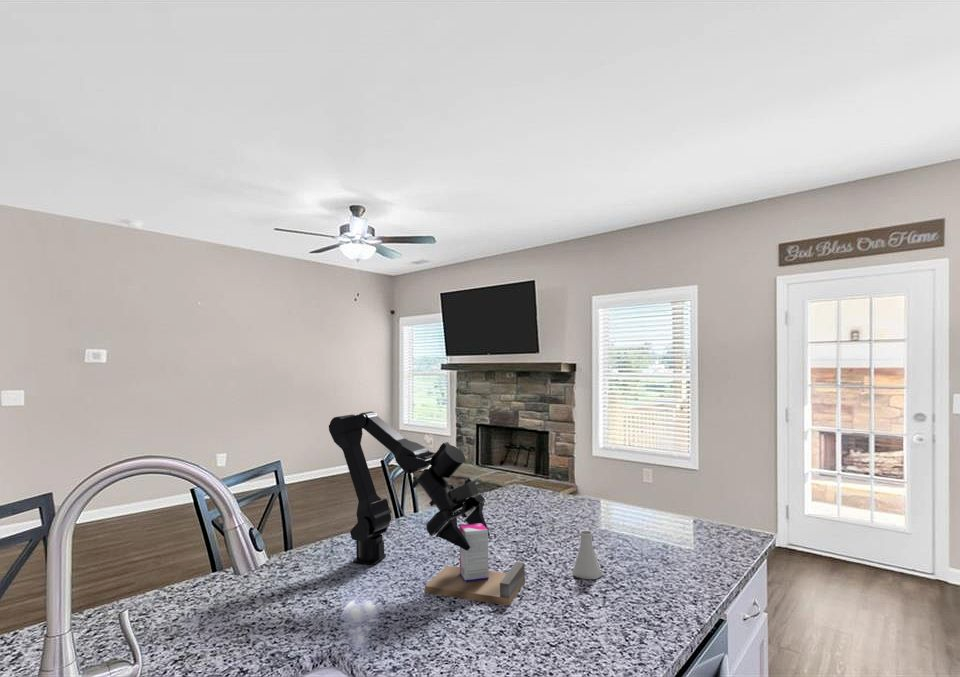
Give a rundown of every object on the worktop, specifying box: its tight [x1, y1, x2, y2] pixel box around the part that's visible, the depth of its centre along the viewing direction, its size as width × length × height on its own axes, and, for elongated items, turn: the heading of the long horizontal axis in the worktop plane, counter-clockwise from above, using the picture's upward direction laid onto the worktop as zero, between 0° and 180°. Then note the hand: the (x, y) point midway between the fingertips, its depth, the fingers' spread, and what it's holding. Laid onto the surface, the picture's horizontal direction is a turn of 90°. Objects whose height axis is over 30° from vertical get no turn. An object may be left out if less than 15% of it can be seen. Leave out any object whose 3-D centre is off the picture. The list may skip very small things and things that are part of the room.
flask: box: [572, 529, 603, 580], centre depth 125 cm, size 7×7×10 cm
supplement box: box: [459, 523, 490, 583], centre depth 121 cm, size 6×6×12 cm
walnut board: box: [424, 561, 526, 606], centre depth 119 cm, size 20×12×4 cm, turn 69°
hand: (479, 542), depth 121 cm, fingers open, 9 cm apart
